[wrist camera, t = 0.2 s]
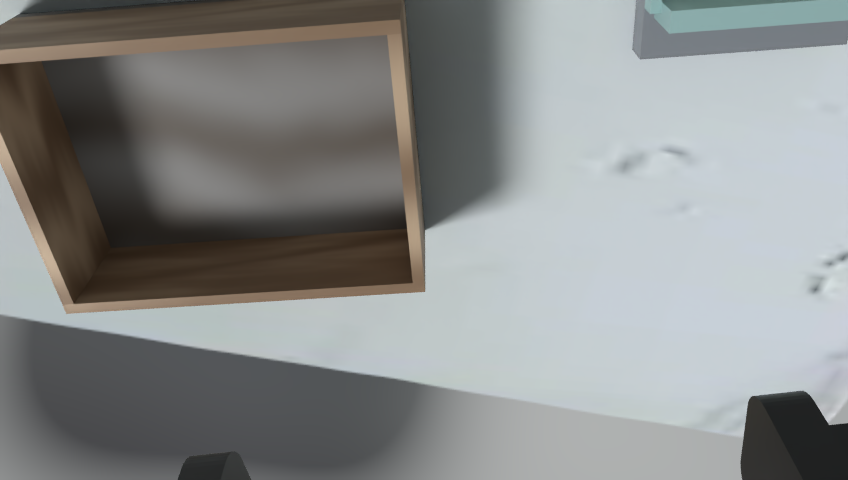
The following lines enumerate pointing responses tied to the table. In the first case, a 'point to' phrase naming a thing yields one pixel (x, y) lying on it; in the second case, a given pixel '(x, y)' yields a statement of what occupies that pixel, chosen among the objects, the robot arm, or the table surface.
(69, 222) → the open wooden storage bin
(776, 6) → the dock plate
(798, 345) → the table surface
